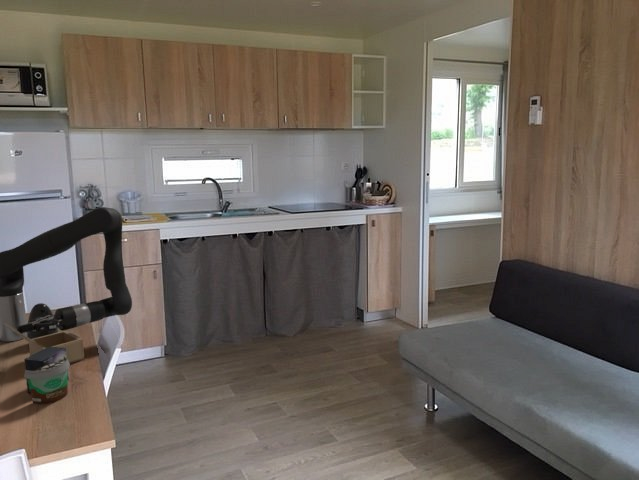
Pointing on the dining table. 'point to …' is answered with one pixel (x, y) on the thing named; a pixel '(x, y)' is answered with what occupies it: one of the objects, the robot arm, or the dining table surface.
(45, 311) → the black egg-shaped piece
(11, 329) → the flap
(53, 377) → the food container
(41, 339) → the carton
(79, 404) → the dining table surface
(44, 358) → the small box
